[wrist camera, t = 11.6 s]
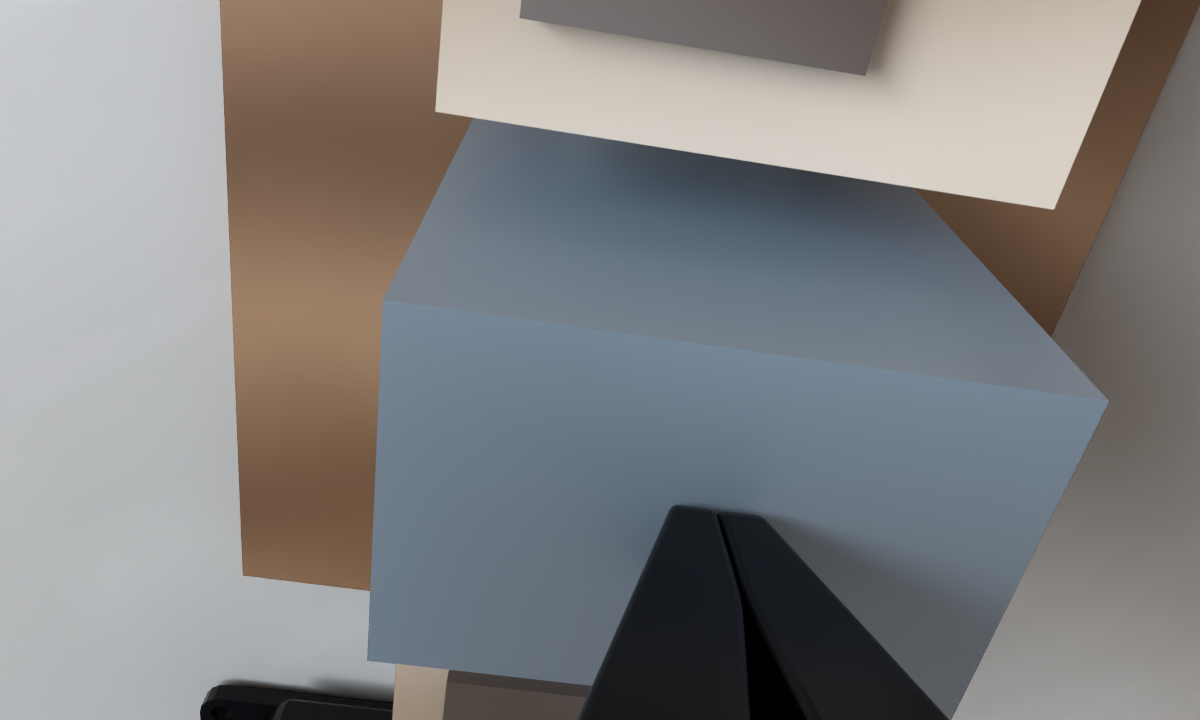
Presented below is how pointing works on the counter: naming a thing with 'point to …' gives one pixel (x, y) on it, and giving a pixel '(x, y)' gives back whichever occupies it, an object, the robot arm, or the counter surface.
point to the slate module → (700, 403)
